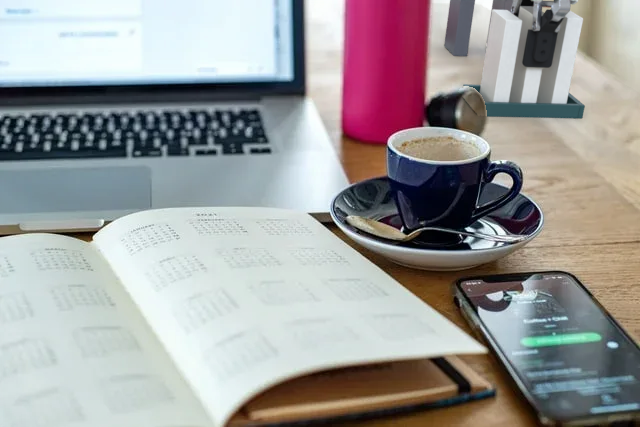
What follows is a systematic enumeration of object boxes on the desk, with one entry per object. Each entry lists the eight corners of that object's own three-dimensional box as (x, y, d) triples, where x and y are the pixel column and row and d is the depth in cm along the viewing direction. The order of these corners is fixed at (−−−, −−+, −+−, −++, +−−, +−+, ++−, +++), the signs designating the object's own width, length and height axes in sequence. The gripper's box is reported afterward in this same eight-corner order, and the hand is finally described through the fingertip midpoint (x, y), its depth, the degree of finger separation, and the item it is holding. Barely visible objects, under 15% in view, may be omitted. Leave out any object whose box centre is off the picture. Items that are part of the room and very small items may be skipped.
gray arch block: (498, 47, 127) (507, -8, 124) (510, 57, 123) (519, -1, 120) (444, 46, 126) (451, -11, 123) (453, 55, 122) (461, -3, 118)
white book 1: (493, 99, 103) (507, 9, 99) (506, 113, 99) (522, 20, 94) (478, 99, 103) (492, 9, 98) (491, 113, 98) (506, 20, 94)
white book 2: (548, 100, 104) (566, 7, 99) (564, 115, 100) (583, 18, 95) (533, 100, 104) (550, 7, 99) (549, 114, 99) (567, 17, 95)
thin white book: (519, 100, 104) (535, 6, 99) (534, 114, 99) (551, 17, 94) (504, 100, 103) (519, 5, 98) (519, 114, 99) (535, 16, 94)
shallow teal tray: (559, 103, 105) (562, 86, 104) (581, 123, 99) (585, 105, 98) (460, 101, 104) (463, 84, 103) (477, 121, 98) (480, 103, 97)
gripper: (628, -101, 84) (589, 83, 92) (562, -119, 99) (533, 40, 107) (554, -106, 83) (520, 81, 91) (497, -124, 98) (473, 38, 106)
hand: (527, 57), depth 99 cm, fingers closed on thin white book, 4 cm apart
